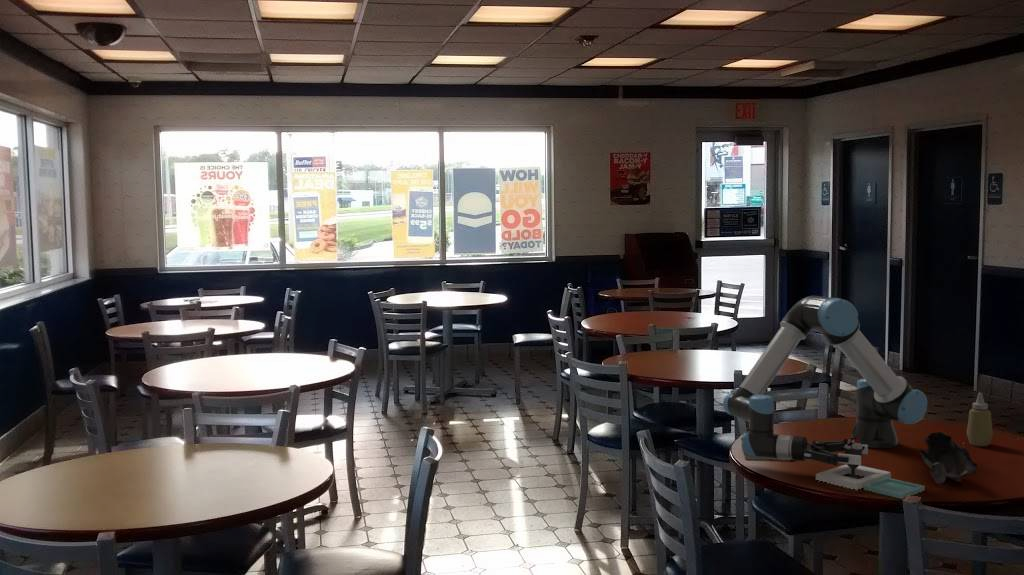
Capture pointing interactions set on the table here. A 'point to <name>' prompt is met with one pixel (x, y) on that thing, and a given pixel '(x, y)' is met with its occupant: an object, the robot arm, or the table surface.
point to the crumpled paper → (946, 458)
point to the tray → (894, 488)
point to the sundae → (853, 452)
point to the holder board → (836, 478)
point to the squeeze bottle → (979, 423)
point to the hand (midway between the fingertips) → (864, 454)
